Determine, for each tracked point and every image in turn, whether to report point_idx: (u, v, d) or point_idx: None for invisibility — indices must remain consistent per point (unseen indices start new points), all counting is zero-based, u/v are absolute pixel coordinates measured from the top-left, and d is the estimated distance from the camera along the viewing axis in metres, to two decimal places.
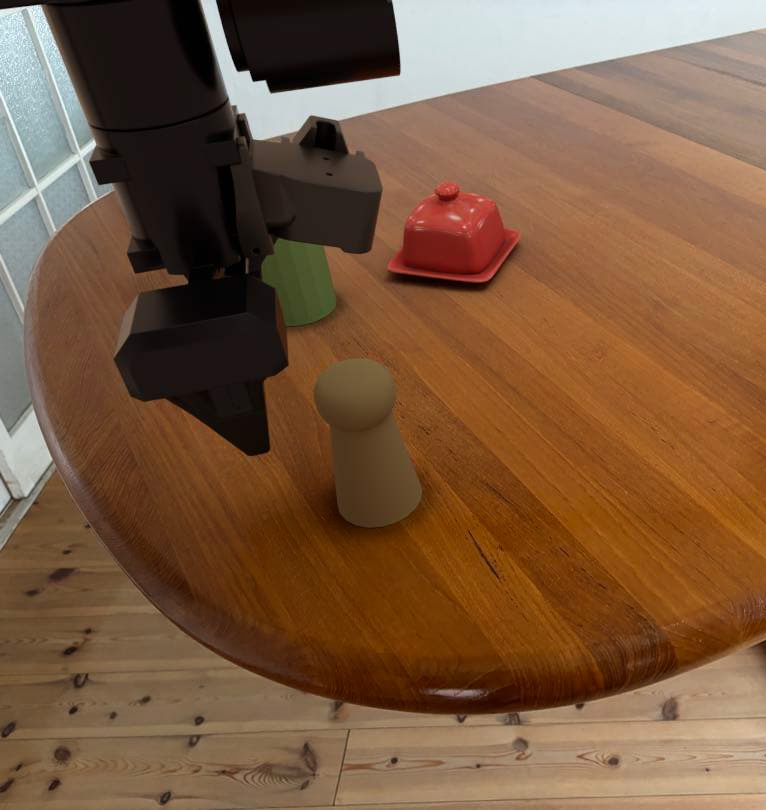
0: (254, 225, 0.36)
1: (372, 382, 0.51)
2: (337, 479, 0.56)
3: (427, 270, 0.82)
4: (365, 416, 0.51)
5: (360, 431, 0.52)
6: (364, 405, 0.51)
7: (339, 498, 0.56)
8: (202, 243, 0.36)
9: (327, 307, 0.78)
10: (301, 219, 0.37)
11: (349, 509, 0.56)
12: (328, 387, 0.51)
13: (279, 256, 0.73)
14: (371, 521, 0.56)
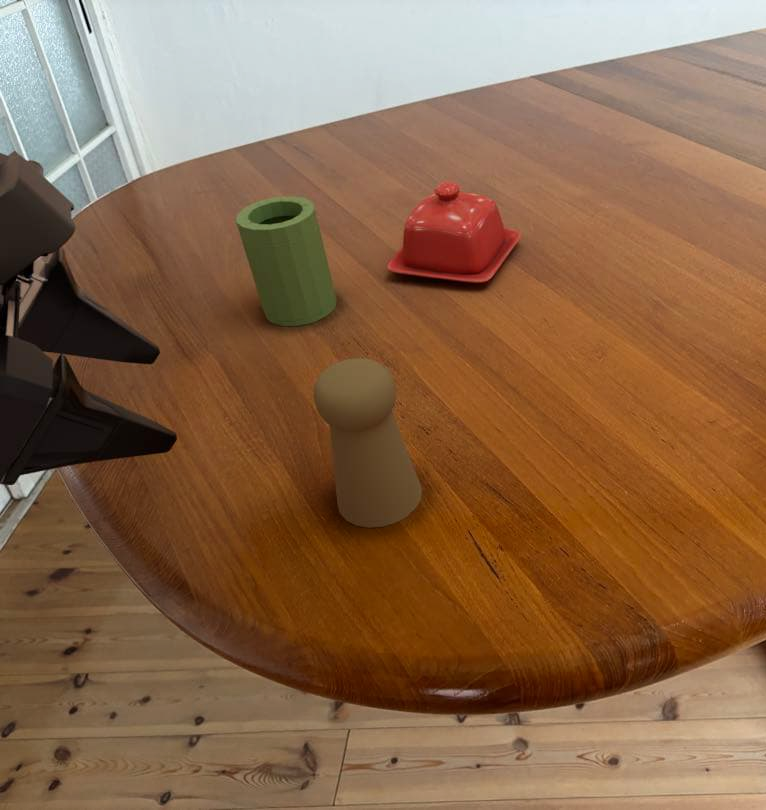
0: None
1: (372, 382, 0.51)
2: (337, 479, 0.56)
3: (427, 270, 0.82)
4: (365, 416, 0.51)
5: (360, 431, 0.52)
6: (364, 405, 0.51)
7: (339, 498, 0.56)
8: None
9: (327, 307, 0.78)
10: None
11: (349, 509, 0.56)
12: (328, 387, 0.51)
13: (279, 256, 0.73)
14: (371, 521, 0.56)
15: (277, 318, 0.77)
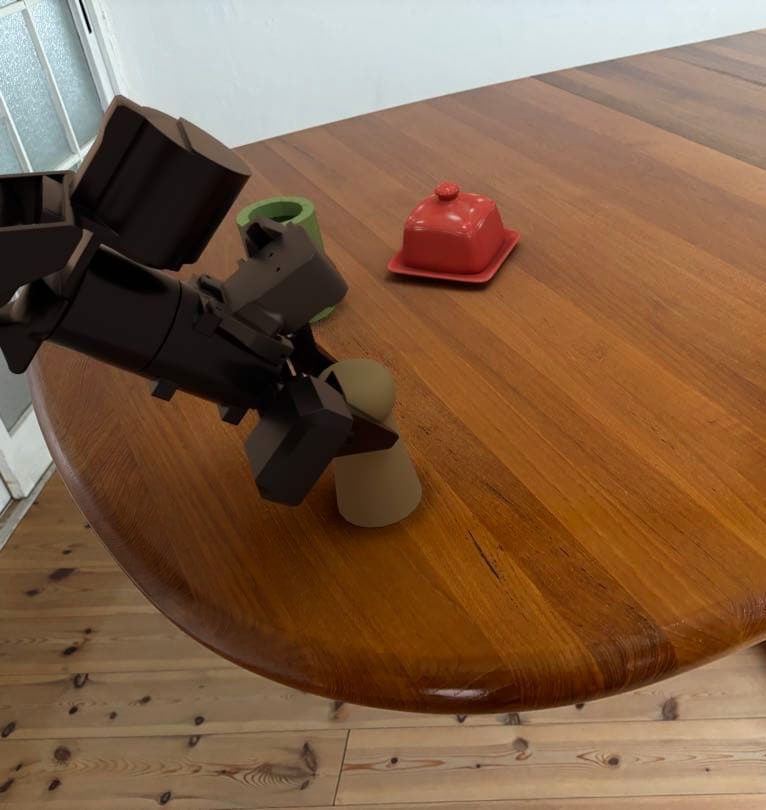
0: (266, 344, 0.45)
1: (372, 381, 0.51)
2: (337, 479, 0.56)
3: (427, 270, 0.82)
4: None
5: None
6: (364, 404, 0.51)
7: (339, 498, 0.56)
8: (251, 380, 0.46)
9: (327, 307, 0.78)
10: (288, 314, 0.45)
11: (349, 509, 0.56)
12: None
13: None
14: (371, 521, 0.56)
15: None
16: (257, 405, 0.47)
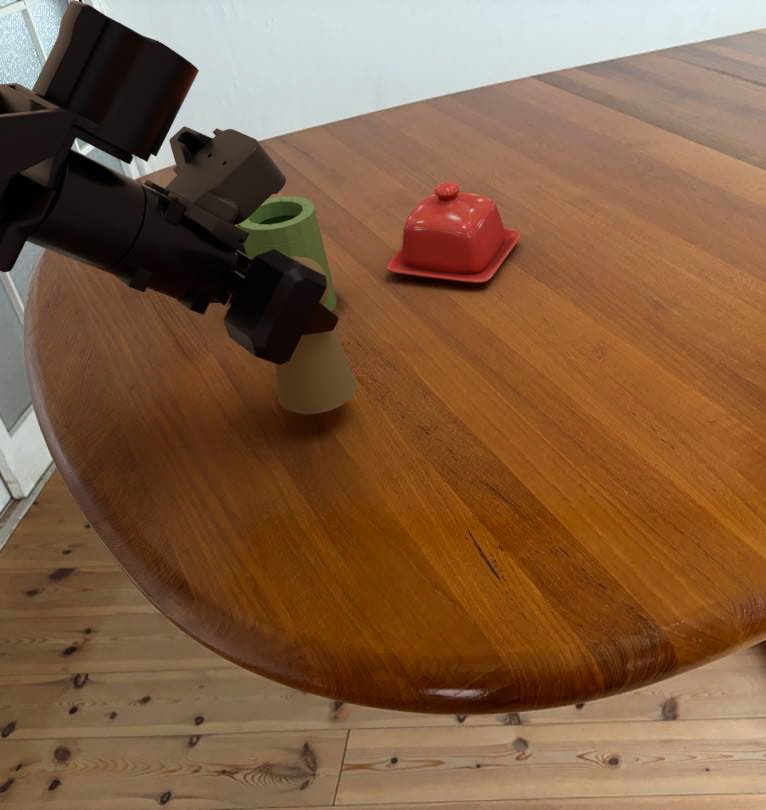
0: (226, 229, 0.51)
1: None
2: (282, 373, 0.61)
3: (427, 270, 0.82)
4: None
5: None
6: None
7: (285, 393, 0.62)
8: (215, 266, 0.51)
9: (327, 307, 0.78)
10: (241, 201, 0.51)
11: (298, 399, 0.62)
12: None
13: None
14: (320, 406, 0.62)
15: None
16: (220, 292, 0.52)
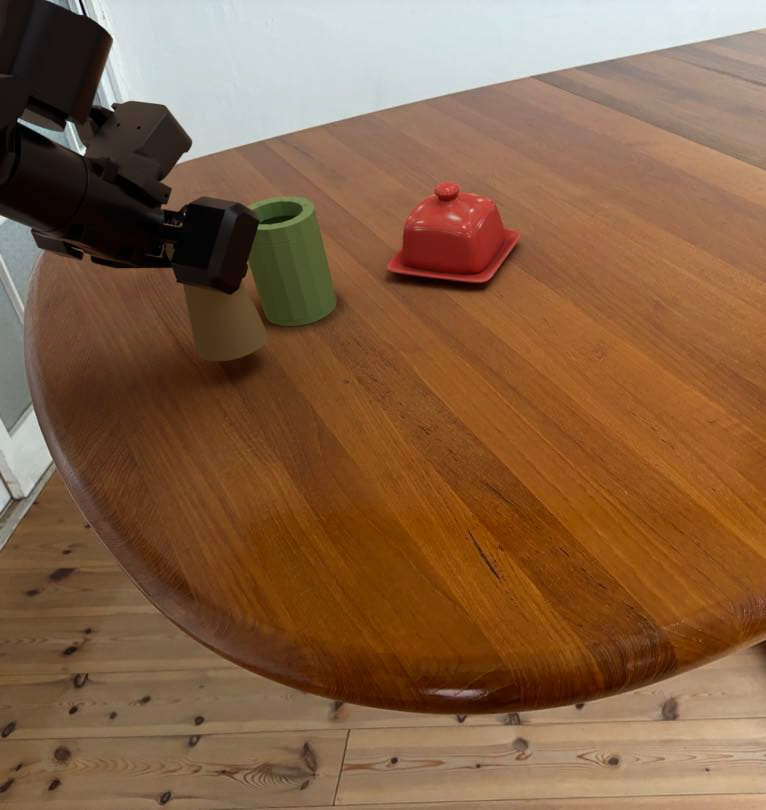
0: (154, 185, 0.57)
1: None
2: (202, 325, 0.67)
3: (427, 270, 0.82)
4: None
5: None
6: None
7: (207, 344, 0.68)
8: (148, 220, 0.57)
9: (327, 307, 0.78)
10: (160, 160, 0.57)
11: (221, 347, 0.68)
12: None
13: (279, 256, 0.73)
14: (242, 350, 0.69)
15: (277, 318, 0.77)
16: (154, 244, 0.58)
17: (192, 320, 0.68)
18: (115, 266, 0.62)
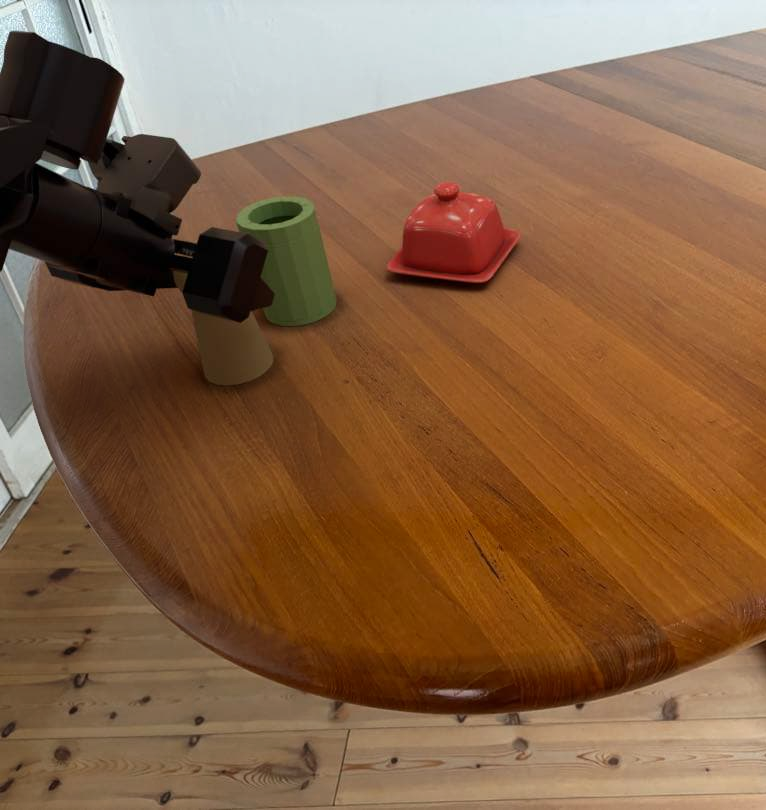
0: (165, 217, 0.59)
1: None
2: (211, 351, 0.69)
3: (426, 270, 0.82)
4: None
5: None
6: None
7: (215, 369, 0.70)
8: (159, 251, 0.59)
9: (327, 307, 0.78)
10: (171, 192, 0.59)
11: (229, 372, 0.70)
12: None
13: (279, 256, 0.73)
14: (250, 374, 0.71)
15: (277, 318, 0.77)
16: (165, 274, 0.60)
17: (201, 346, 0.69)
18: (109, 289, 0.65)
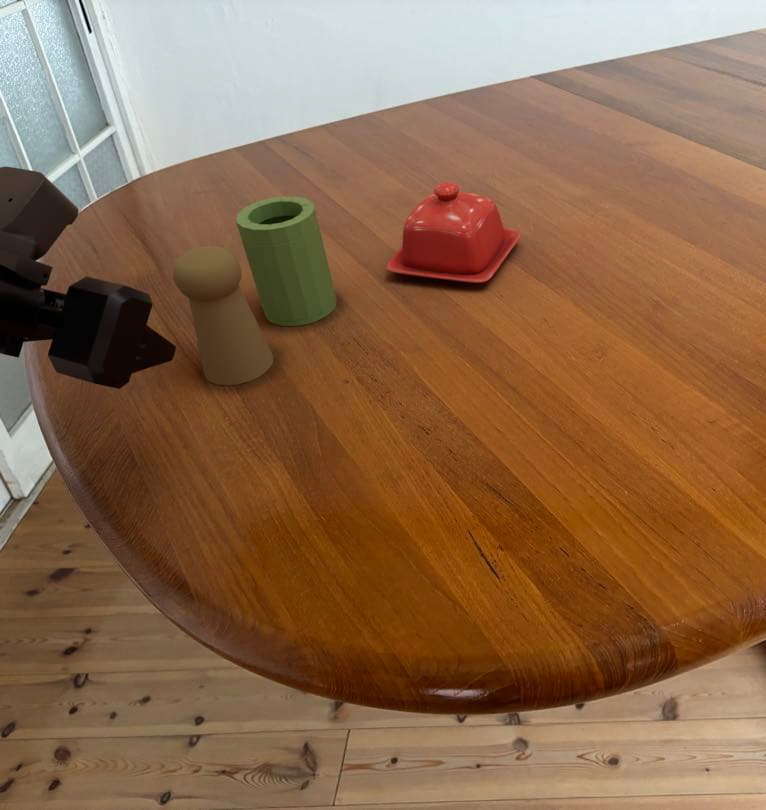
0: (29, 266, 0.50)
1: (224, 253, 0.66)
2: (211, 351, 0.69)
3: (426, 270, 0.82)
4: (231, 279, 0.66)
5: (226, 296, 0.67)
6: (228, 269, 0.66)
7: (215, 369, 0.70)
8: (23, 305, 0.50)
9: (327, 307, 0.78)
10: (37, 236, 0.50)
11: (229, 372, 0.70)
12: (193, 266, 0.65)
13: (279, 256, 0.73)
14: (250, 374, 0.71)
15: (277, 318, 0.77)
16: (33, 331, 0.51)
17: (201, 346, 0.69)
18: None
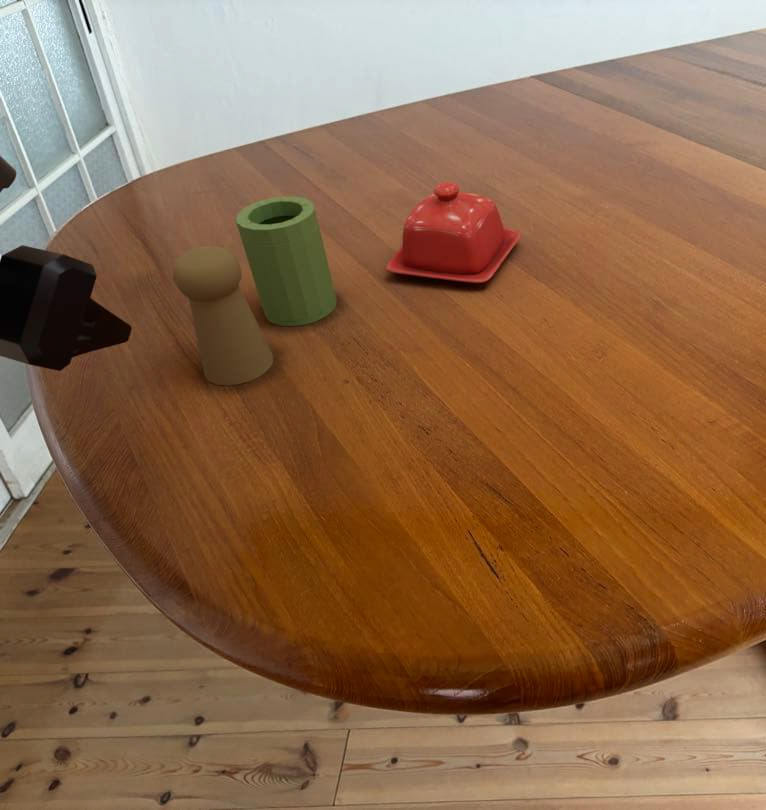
0: None
1: (224, 253, 0.66)
2: (211, 351, 0.69)
3: (426, 270, 0.82)
4: (231, 279, 0.66)
5: (226, 296, 0.67)
6: (228, 269, 0.66)
7: (215, 369, 0.70)
8: None
9: (327, 307, 0.78)
10: None
11: (229, 372, 0.70)
12: (193, 266, 0.65)
13: (279, 256, 0.73)
14: (250, 374, 0.71)
15: (277, 318, 0.77)
16: None
17: (201, 346, 0.69)
18: None
